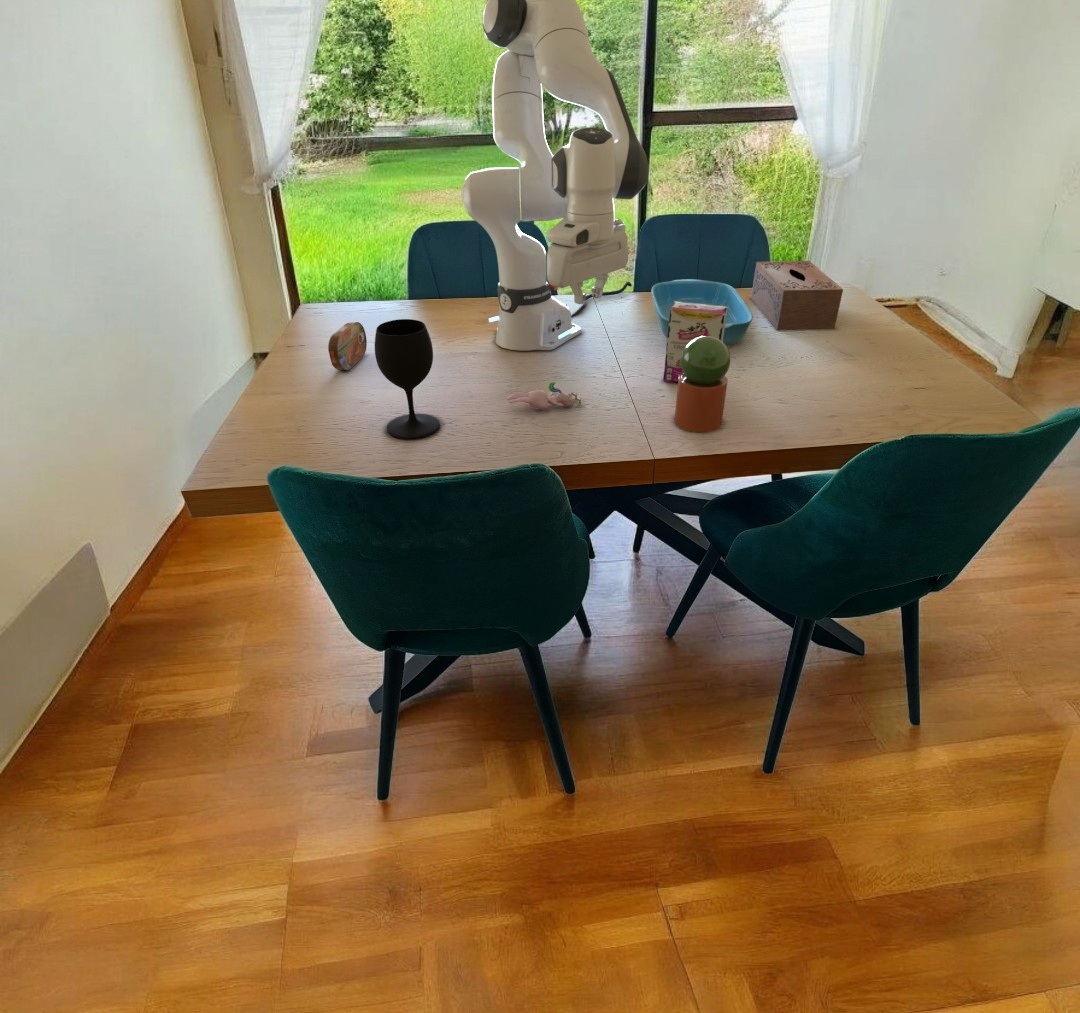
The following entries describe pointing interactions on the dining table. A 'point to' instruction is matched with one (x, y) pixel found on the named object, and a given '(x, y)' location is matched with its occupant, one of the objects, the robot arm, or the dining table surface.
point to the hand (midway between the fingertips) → (588, 299)
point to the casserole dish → (703, 294)
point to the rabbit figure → (545, 398)
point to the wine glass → (406, 371)
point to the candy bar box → (690, 331)
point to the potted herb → (702, 385)
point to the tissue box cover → (796, 295)
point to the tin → (347, 346)
